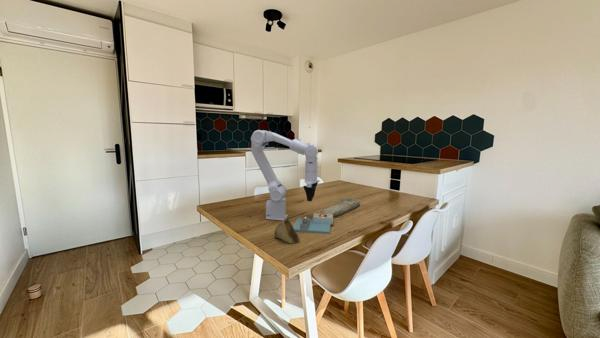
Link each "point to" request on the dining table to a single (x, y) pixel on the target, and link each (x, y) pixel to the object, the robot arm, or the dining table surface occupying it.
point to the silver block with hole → (323, 219)
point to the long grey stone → (341, 207)
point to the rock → (286, 232)
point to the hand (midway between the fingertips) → (310, 198)
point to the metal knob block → (305, 223)
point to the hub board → (313, 227)
